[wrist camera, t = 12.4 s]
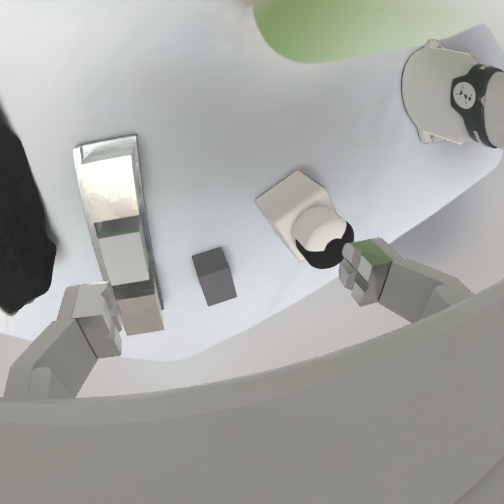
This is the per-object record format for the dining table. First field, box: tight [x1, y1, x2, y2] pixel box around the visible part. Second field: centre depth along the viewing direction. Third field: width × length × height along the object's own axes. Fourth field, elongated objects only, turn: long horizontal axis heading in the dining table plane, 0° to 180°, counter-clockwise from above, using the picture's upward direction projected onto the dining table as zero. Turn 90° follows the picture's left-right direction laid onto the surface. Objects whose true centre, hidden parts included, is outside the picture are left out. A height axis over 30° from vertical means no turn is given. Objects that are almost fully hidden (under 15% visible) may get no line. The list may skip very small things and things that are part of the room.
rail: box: [73, 134, 164, 336], centre depth 32 cm, size 7×24×6 cm, turn 179°
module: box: [98, 212, 149, 286], centre depth 31 cm, size 4×6×5 cm
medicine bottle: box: [255, 170, 354, 269], centre depth 35 cm, size 7×7×12 cm
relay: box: [192, 247, 237, 306], centre depth 39 cm, size 4×5×5 cm
